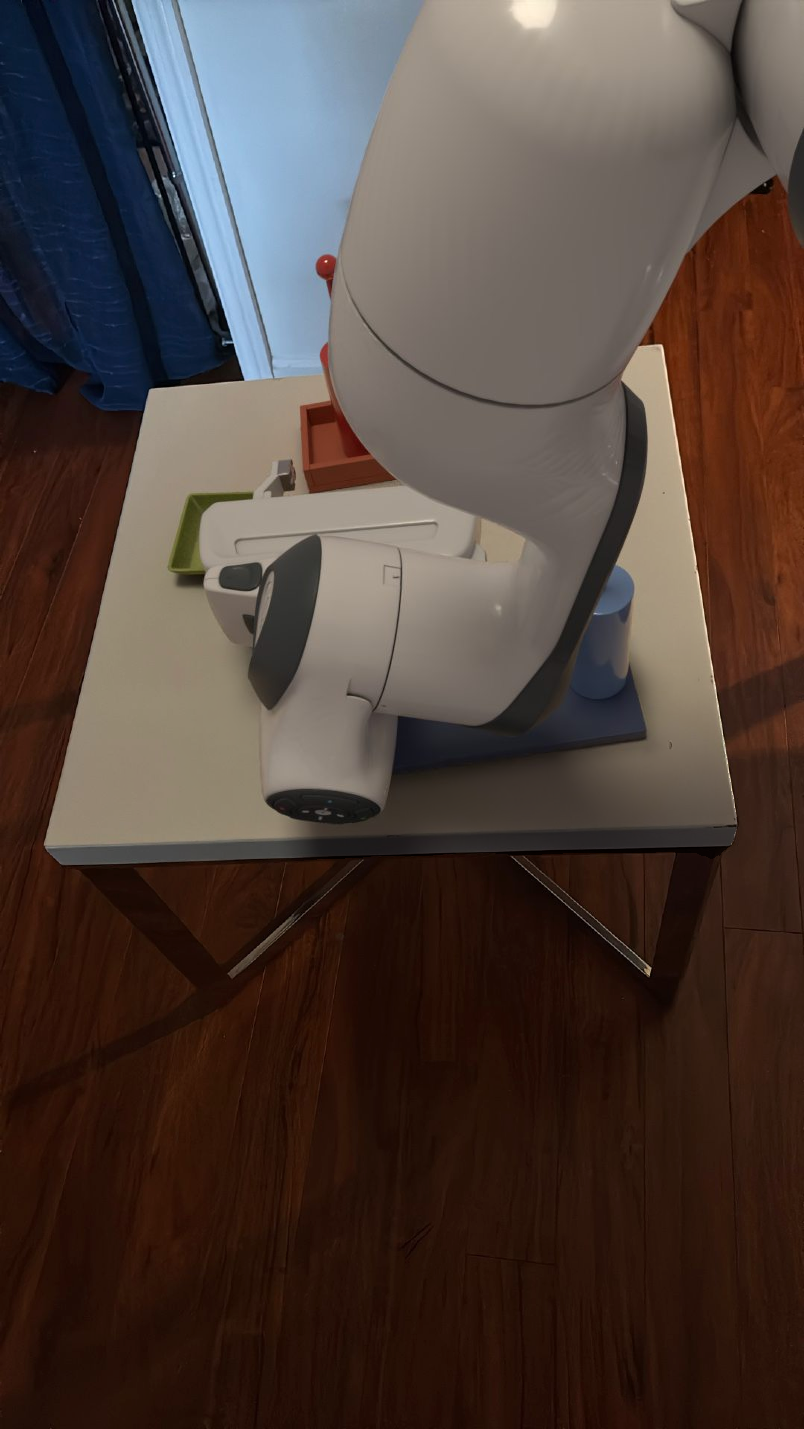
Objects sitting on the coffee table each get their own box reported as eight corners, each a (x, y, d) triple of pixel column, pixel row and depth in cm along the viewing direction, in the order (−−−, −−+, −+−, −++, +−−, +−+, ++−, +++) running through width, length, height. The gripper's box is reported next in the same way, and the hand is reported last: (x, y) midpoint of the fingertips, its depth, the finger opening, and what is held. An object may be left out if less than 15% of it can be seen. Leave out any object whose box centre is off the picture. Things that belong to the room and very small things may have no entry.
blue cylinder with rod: (621, 645, 77) (633, 461, 61) (633, 694, 74) (649, 516, 59) (561, 654, 77) (558, 474, 61) (572, 704, 75) (571, 528, 59)
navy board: (621, 641, 78) (622, 633, 77) (646, 738, 73) (646, 730, 73) (359, 681, 79) (357, 673, 79) (367, 778, 75) (365, 771, 74)
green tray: (273, 585, 86) (267, 569, 84) (173, 586, 87) (165, 570, 86) (289, 506, 90) (284, 489, 89) (194, 509, 92) (187, 492, 90)
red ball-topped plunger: (389, 423, 93) (352, 233, 78) (393, 457, 91) (356, 269, 75) (341, 431, 93) (294, 244, 78) (344, 465, 91) (296, 280, 75)
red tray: (427, 408, 95) (423, 384, 92) (436, 472, 90) (432, 448, 88) (306, 429, 95) (299, 405, 93) (309, 493, 91) (302, 470, 89)
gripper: (484, 562, 67) (479, 414, 74) (179, 587, 70) (204, 441, 77) (491, 621, 72) (486, 477, 80) (208, 642, 75) (228, 501, 82)
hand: (345, 460), depth 78 cm, fingers open, 8 cm apart
